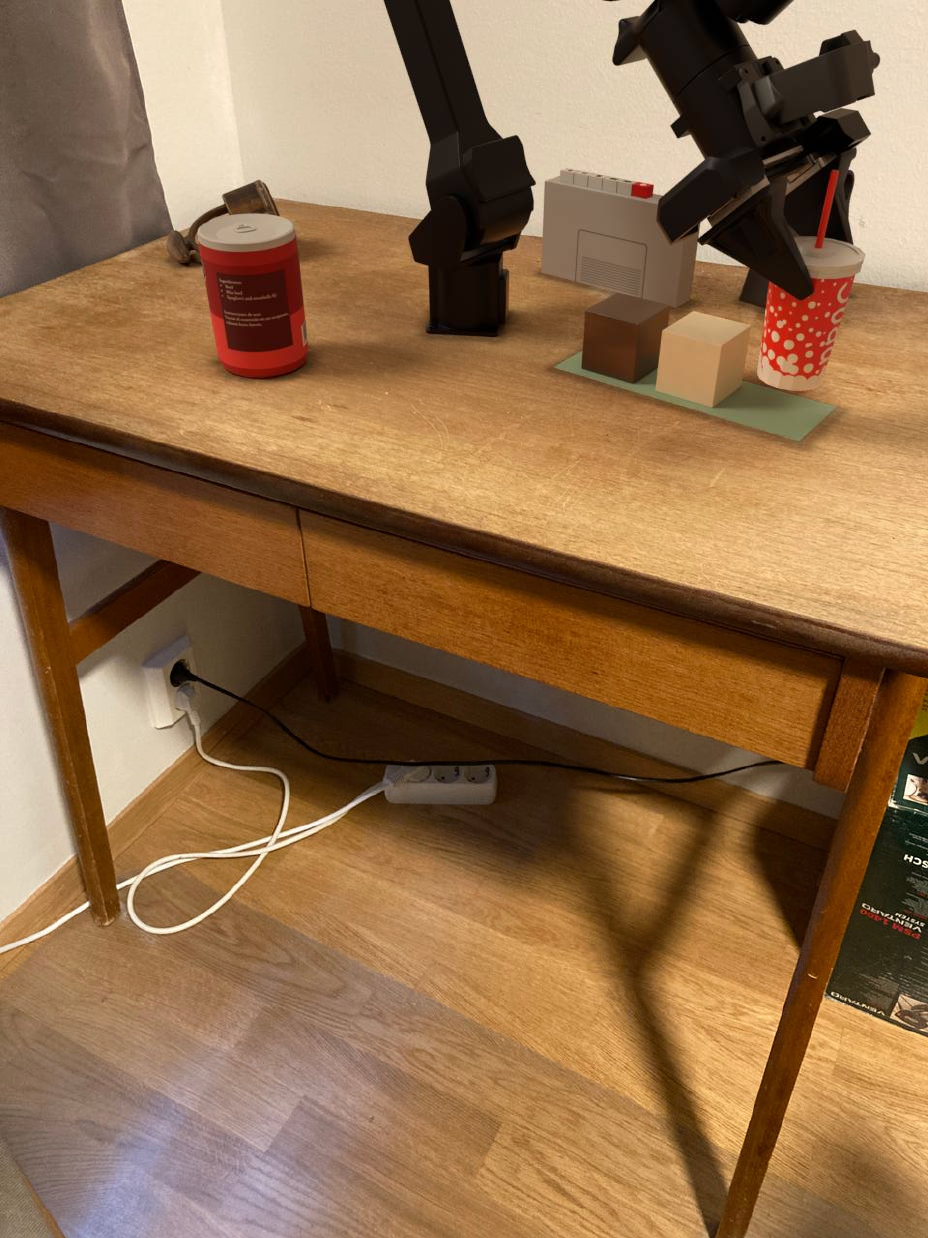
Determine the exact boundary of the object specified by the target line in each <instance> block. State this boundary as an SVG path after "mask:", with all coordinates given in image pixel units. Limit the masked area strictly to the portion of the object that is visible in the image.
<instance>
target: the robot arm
mask: <svg viewBox="0 0 928 1238" xmlns="http://www.w3.org/2000/svg"><path fill="white" fill-rule="evenodd" d="M619 1H620V0H602V2H609V3H611V2H619ZM793 2H795V0H653V1H652V2H651V3H650V5H649V6H648V7H647V8H646V9H645V10H644V11H643V12H642V13H641V15H635V16H629V17H624V18H621V19H619V21H618V22H617V23H618V27H617V28H618V33H617V38H616V42H615V43H614V47H613V53H612V57H611V62H612V64H613V65H614V66H615V67H619V66H625V65H627V64H632V63H636V62H640V61H644V60H646V59H647V62H648V63H649V65H650V67H651V69H652V70H653V72H654V74H655V75H656V77H657V78H658V80H659V82H660V84H661V86H662V87H663V89H664V91H665V92H666V94H667V96H668V98H669V100H670V101H671V103H672V105H673V107H674V109H675V111H676V112H677V113H678V117H677V118H676V119H675V120H674V121H673V122H672V123H671V124H670V125H669V127H670V128H671V130H672V132H673V133H674V135H675V137H676V139H677V140H679V139H681V138H685V137H688V136H691V138H692V139H693V141H694V143H695V145H696V146H697V149H698V150H699V152H700V154H701V155H702V157H703V160H702V161H701V162H700V163H699V164H698V165H697V166H696V167H694V168H693V169H692V170H690V172H689V173H687V174H686V175H685V176H684V177H683V178H682V179H681V180H679V181H678V182H677V183H676V184H674V186H672V187H671V188H670V189H669V190H668V191H667V192H665V193H664V194H663V195H662V197H661V198H660V199H659V201H658V209H657V217H656V221H657V223H658V225H659V227H660V228H661V230H662V232H663V233H664V235H665V237H666V239H667V240H668V242H669V244H670V245H673V244H676V243H678V242H680V241H682V240H685V239H687V238H689V237H691V236H693V235H694V234H695V233H697V232H698V224H699V223H700V224H701V223H702V222H703V221H704V220H706V219H707V222H708V223H709V225H710V226H711V227H710V229H708V230H707V231H706V232H704V233H703V234H701V235H699V238H698V239H697V241H698V245H700V246H705V245H707V246H709V247H711V248H713V249H715V250H717V251H718V252H720V253H722V254H723V255H726V256H728V257H729V258H730V259H733V260H734V261H736V262H738V263H740V264H741V265H743V266H745V267H747V268H748V269H751V270H753V271H755V272H756V273H758V274H759V275H761V276H762V277H764V278H765V279H767V280H768V281H770V282H772V283H773V284H775V285H776V286H778V287H779V288H781V289H782V290H784V291H785V292H787V293H789V294H790V295H792V296H793V297H795V298H796V299H798V300H800V301H802V300H804V299H806V298H807V297H809V296H811V295H812V294H813V293H814V292H815V288H814V286H813V283H812V280H811V277H810V274H809V272H808V269H807V267H806V265H805V262H804V260H803V258H802V255H801V253H800V251H799V249H798V246H797V244H796V242H795V240H794V237H793V235H792V233H791V230H790V228H789V226H790V227H791V228H792V229H793V230H794V231H795V232H796V233H797V234H798V235H799V236H812V237H817V234H818V230H819V225H820V221H821V216H822V212H823V207H824V202H825V198H826V193H827V189H828V184H829V180H830V175H831V171H832V170H839V174H838V179H837V183H836V188H835V192H834V197H833V201H832V205H831V210H830V214H829V219H828V223H827V228H826V232H825V237H824V238H830V239H835V240H839V241H843V242H847V243H850V244H852V245H854V246H855V244H854V238H853V235H852V234H853V233H852V229H851V224H850V219H849V218H850V217H849V218H848V213H847V208H846V201H845V194H844V182H845V179H846V176H847V173H848V170H850V167H851V163H852V161H853V160H854V159H856V158H857V153H858V149H857V147H858V146H859V145H860V144H862V143H864V141H866V140H867V139H868V138H869V137H870V136H871V135H872V132H871V131H870V129H869V127H868V126H867V124H866V122H865V120H864V118H863V116H862V114H861V113H860V111H859V110H857V109H850V108H844V107H846V106H849V105H851V104H855V103H856V102H859V101H862V100H866V99H868V98H871V97H874V96H875V95H876V91H875V90H876V89H875V84H874V78H873V73H874V71H875V69H877V68H878V67H879V66H880V63H881V57H880V54H879V53H878V52H876V51H875V52H874V50H873V48H872V47H873V46H872V42H871V40H870V39H868V40H864V39H863V37H861V35H860V33H858V31H857V30H856V29H851V30H847V31H844V32H841V33H840V34H839V35H836V36H834V37H830V38H826V39H824V40H822V42H821V44H820V49H819V52H818V55H817V56H815V57H812V58H810V59H807V60H804V61H802V62H799V63H797V64H793V65H792V66H790V67H786V68H784V65H783V64H782V62H781V61H780V60H779V58H777V57H776V56H772V55H768V56H764V57H760V58H758V57H757V54H756V52H755V51H754V49H753V47H752V46H751V45H750V42H749V41H748V39H747V37H746V36H745V34H744V32H743V31H742V28H741V26H740V25H739V24H742V25H743V24H744V25H745V24H748V23H749V22H751V23H754V24H756V25H759V26H767V25H769V24H771V23H772V22H773V21H774V20H775V19H777V17H778V16H779V15H780V14H781V13H782V12H783V11H784V10H786V9H787V8H788V7H790V5H791V4H792V3H793ZM383 3H384V4H383V5H384V6H385V10H386V12H387V16H388V18H389V22H390V24H391V28H392V30H393V33H394V36H395V40H396V42H397V43H396V44H397V46H398V49H399V52H400V55H401V58H402V61H403V63H404V64H403V65H404V66H405V70H406V73H407V76H408V79H409V81H410V86H411V89H412V91H413V94H414V97H415V101H416V103H417V106H418V110H419V112H420V116H421V118H422V121H423V125H424V128H425V131H426V134H427V137H428V140H429V153H428V159H427V167H426V174H425V175H426V176H425V182H424V183H425V189H426V193H427V198H428V203H429V207H430V210H429V212H427V213H426V215H425V216H424V218H422V220H421V221H420V222H419V223H418V224H417V225H416V227H415V228H414V229H413V230H412V232H411V233H410V234H409V235H408V237H407V241H408V244H409V247H410V248H409V249H410V251H411V255H412V258H413V261H414V262H415V263H417V264H420V265H424V266H427V270H428V271H427V273H428V299H429V300H428V308H429V309H428V310H429V320H428V322H427V324H426V327H425V333H426V334H428V335H439V336H458V337H459V336H460V337H461V336H462V337H483V338H484V337H485V338H486V337H487V338H497V337H498V336H499V334H500V330H501V327H502V326H503V325H505V324H506V322H507V320H508V315H509V311H510V310H509V309H510V307H509V305H510V270H509V269H508V268H504V253H505V252H508V251H513V250H515V249H517V247H518V244H519V241H520V238H521V235H522V232H523V230H524V229H525V228H526V226H527V225H528V223H529V222H530V217H531V214H532V212H534V209H535V199H534V194H533V193H534V192H533V189H532V187H534V186H536V185H537V182H536V180H535V178H534V177H533V175H532V174H531V171H530V169H529V167H528V164H527V159H526V153H525V149H524V148H525V147H524V144H523V142H522V140H521V138H520V137H519V135H517V134H514V135H510V136H506V137H502V136H501V135H500V133H499V132H498V131H497V130H496V129H495V128H494V127H493V126H492V125H491V123H490V122H489V120H488V118H487V116H486V113H485V109H484V106H483V103H482V100H481V97H480V92H479V90H478V86H477V83H476V80H475V76H474V73H473V70H472V68H471V64H470V61H469V57H468V54H467V52H466V48H465V45H464V42H463V38H462V35H461V32H460V28H459V25H458V22H457V20H456V15H455V12H454V9H453V5H452V2H451V0H383ZM818 112H821V113H823V114H820V115H818V116H817V117H816V115H815V114H816V113H818ZM788 225H789V226H788Z"/></svg>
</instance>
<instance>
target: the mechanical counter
mask: <svg viewBox="0 0 928 1238" xmlns="http://www.w3.org/2000/svg"><path fill="white" fill-rule="evenodd" d="M221 199H222V200H223V204H220V205H218V206H216V207H214V208H211V209H210V210H207V211H206V212H205V213H203V214H201V215H200V216H199V217H198V218H196V220H195V221H194V222H192V224H191V226H190V228H189V229H188V233H187V234H186V235H185V236H183V234H182V233H181V232H180V231H178V230H176V229H174V230H171V232H169V234H168V236H167V238H166V250H167V253H168V254H169V256H170V257H171V258H172V259H174V261H176V262H177V263H180V264H187V263H189V262H191V251H195V252H196V253H197V254H199V255H200V248H199V243H197V242H196V235H198V229H199V227H200V226H202V225H203V224H205V223H207V222H208V221H211V220H213V219H216V218H220V217H223V216H225V215H227V214H228V216H229V215H237V214H269V215H275V216H280V217H281V215H280V212H279V210H278V208H277V205H276V202H275V200H274V198H273V195H271V192H270V189H269V188H268V185H267V184H266V183H265V182H264V181H262V180H261V179H256V180H255V181H253V182H250V183H247V184H245V185H242V186H240V187H238V188H235V189H232V190H230V191H227V192H225V193H222V195H221Z"/></svg>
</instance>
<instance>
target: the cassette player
mask: <svg viewBox="0 0 928 1238" xmlns="http://www.w3.org/2000/svg"><path fill="white" fill-rule="evenodd" d="M654 188H655V185H654V184H652V183H646V182H641V181H637V180H630V179H626V178H621V177H616V176H612V175H611V176H610V175H605V174H600V173H595V172H590V171H585V170H579V169H574V168H570V167H565V168H563V169H560V171H559V175H558V176H555V177H552V178H549V179H546V180H544V188H543V189H544V190H543V213H542V214H543V216H542V217H543V218H542V242H541V243H542V244H541V264H540V265H541V268H540V269H541V270H540V272H541V273H542V274H546V275H548V276H549V275H550V276H552V277H556V278H561V279H564V280H569V281H572V282H576V283H580V284H583V285H587V286H591V287H595V288H599V289H602V290H605V291H610V292H614V293H622V294H626V295H630V296H634V297H638V298H642V299H647V300H651V301H655V302H659V303H663V304H667V305H670V306H671V307H670V308H673V309H677V308H678V307H680V306H682V305H684V304H686V303H687V302H689V301H691V298H692V291H693V282H694V274H695V268H696V267H695V266H696V260H697V252H698V245H699V243H698V241H697V239H698V238H699V237H700V230H701V223H699V224H698V232H697V233H695V234H694V235H693V236H691V237H689V238H687V239H685V240H682V241H680V242H678V243H676V244H673V245H670V244H669V242H668V240H667V239H666V237H665V235H664V233H663V232H662V230H661V228H660V227H659V225H658V223H657V221H656V217H657V209H658V201H659V199H660V198H661V197H662V196H663V195H661V194H656V193H654V190H655V189H654Z"/></svg>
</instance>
